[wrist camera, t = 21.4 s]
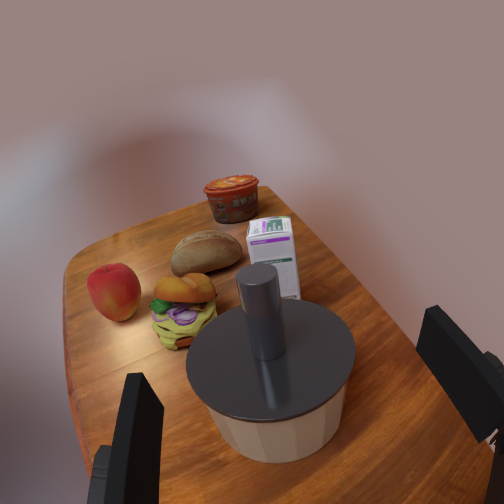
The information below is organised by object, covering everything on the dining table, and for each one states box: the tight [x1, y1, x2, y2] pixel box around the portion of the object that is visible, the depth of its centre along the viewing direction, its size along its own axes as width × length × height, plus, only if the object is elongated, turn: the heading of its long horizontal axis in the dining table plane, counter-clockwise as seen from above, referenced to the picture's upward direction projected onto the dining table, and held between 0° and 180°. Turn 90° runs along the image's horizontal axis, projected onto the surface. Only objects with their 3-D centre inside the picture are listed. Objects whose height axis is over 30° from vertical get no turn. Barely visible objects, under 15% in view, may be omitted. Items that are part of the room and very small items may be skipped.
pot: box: [206, 380, 348, 463], centre depth 26 cm, size 14×14×10 cm
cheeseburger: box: [150, 273, 219, 350], centre depth 42 cm, size 10×11×10 cm
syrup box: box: [246, 216, 301, 300], centre depth 40 cm, size 6×6×14 cm
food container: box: [203, 175, 259, 224], centre depth 85 cm, size 16×16×11 cm
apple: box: [87, 263, 141, 321], centre depth 47 cm, size 10×10×10 cm
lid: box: [186, 263, 356, 423], centre depth 23 cm, size 15×15×9 cm
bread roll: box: [171, 230, 242, 278], centre depth 58 cm, size 10×15×8 cm, turn 108°
